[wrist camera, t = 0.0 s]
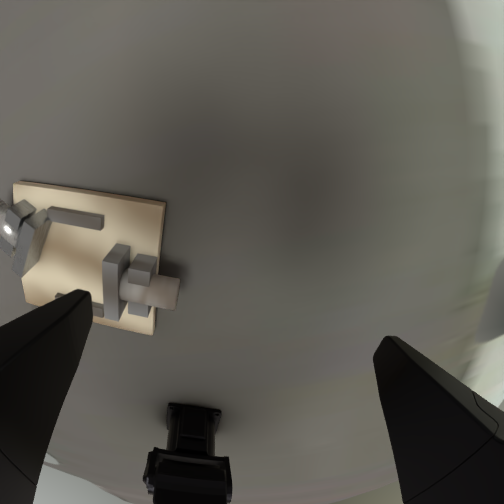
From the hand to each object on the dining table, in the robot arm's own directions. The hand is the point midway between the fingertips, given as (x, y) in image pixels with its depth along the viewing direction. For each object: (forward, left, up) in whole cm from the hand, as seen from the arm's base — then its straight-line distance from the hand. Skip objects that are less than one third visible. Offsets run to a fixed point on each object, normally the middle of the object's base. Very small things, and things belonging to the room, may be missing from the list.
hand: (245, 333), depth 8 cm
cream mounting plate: (-7, +12, -14) cm, 20 cm away
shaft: (-5, +18, -13) cm, 23 cm away
